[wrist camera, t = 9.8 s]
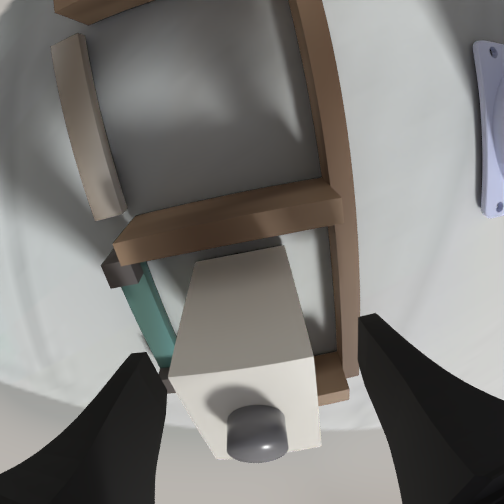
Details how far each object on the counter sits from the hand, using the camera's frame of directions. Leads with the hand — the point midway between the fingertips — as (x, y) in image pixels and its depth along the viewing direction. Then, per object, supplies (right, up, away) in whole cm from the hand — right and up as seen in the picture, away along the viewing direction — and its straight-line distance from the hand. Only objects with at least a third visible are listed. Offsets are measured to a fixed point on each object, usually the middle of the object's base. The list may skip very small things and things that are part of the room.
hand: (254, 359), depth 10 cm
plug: (0, +1, +3) cm, 3 cm away
